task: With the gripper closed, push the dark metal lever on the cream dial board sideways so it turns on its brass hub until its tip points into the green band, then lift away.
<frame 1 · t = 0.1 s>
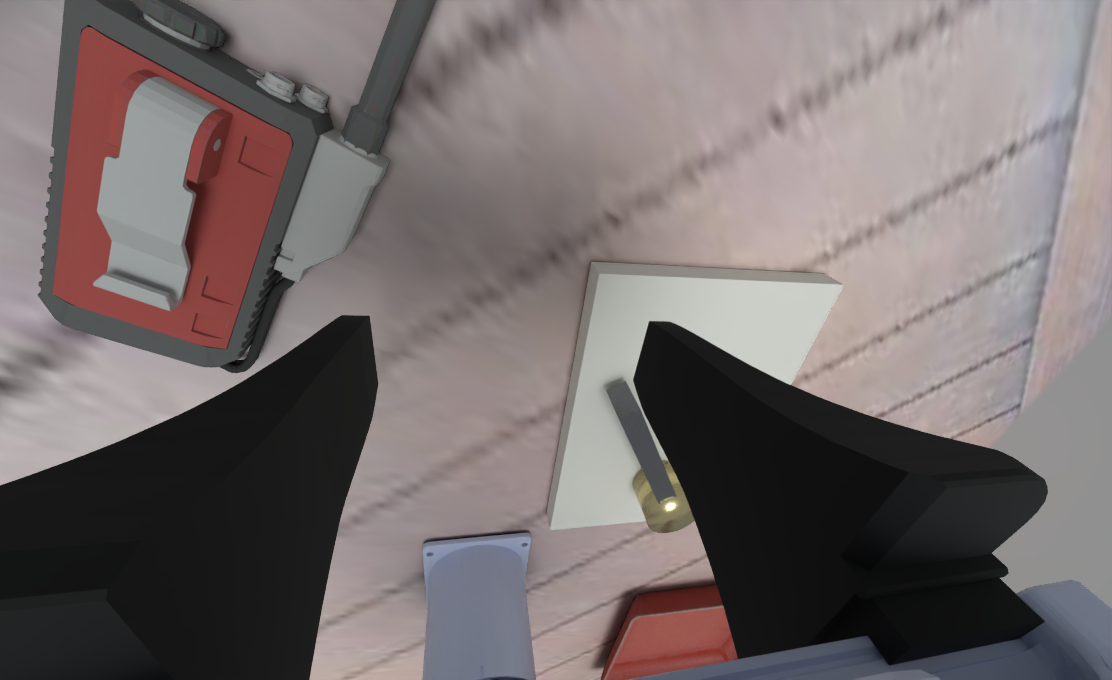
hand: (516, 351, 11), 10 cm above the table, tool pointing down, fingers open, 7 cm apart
dial lever: (650, 462, 25), point 3 cm above the table, hinge at 30.0°
plant saucer: (679, 615, 47), on the table
dial board: (666, 408, 27), on the table
walkie-talkie: (261, 141, 16), on the table
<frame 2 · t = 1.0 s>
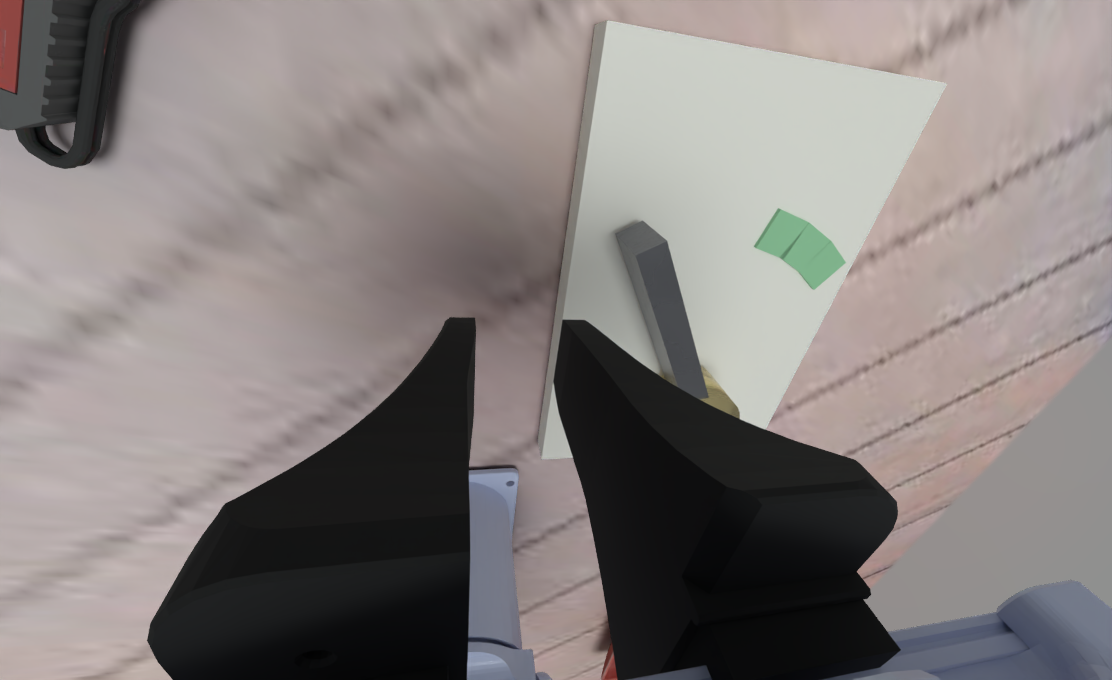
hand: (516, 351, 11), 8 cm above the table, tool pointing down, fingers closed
dial lever: (673, 350, 19), point 3 cm above the table, hinge at 30.0°
plant saucer: (695, 588, 41), on the table
dial board: (692, 292, 21), on the table
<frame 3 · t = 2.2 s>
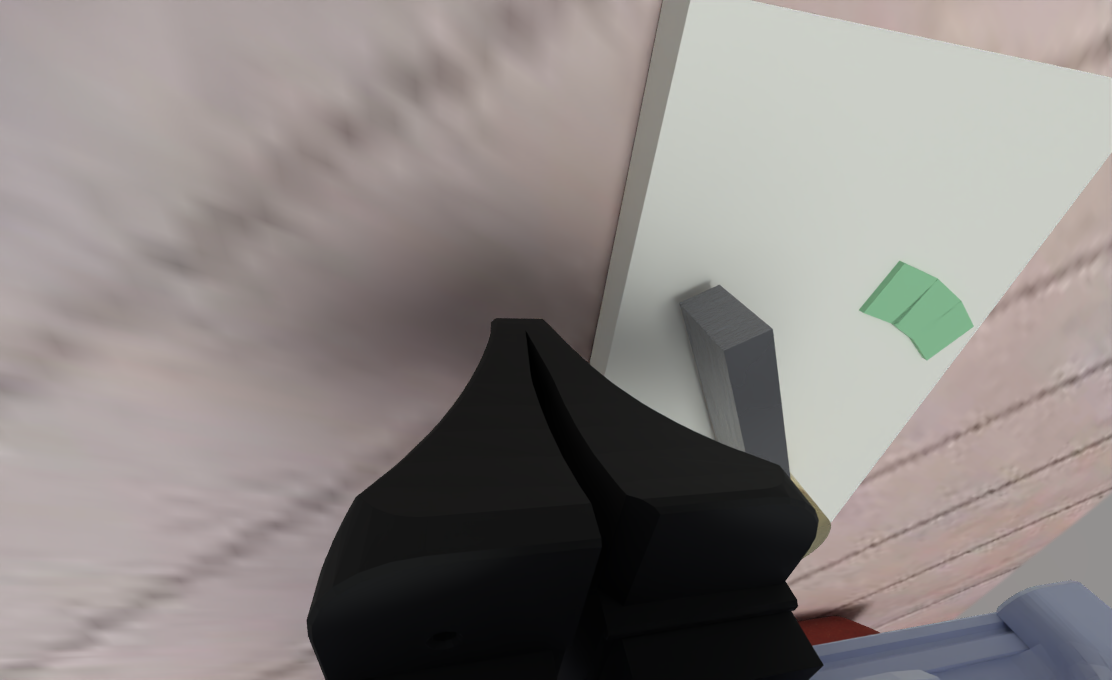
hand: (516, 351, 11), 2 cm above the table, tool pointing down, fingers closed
dial lever: (748, 450, 14), point 3 cm above the table, hinge at 30.0°
plant saucer: (727, 660, 36), on the table
dial board: (762, 360, 16), on the table
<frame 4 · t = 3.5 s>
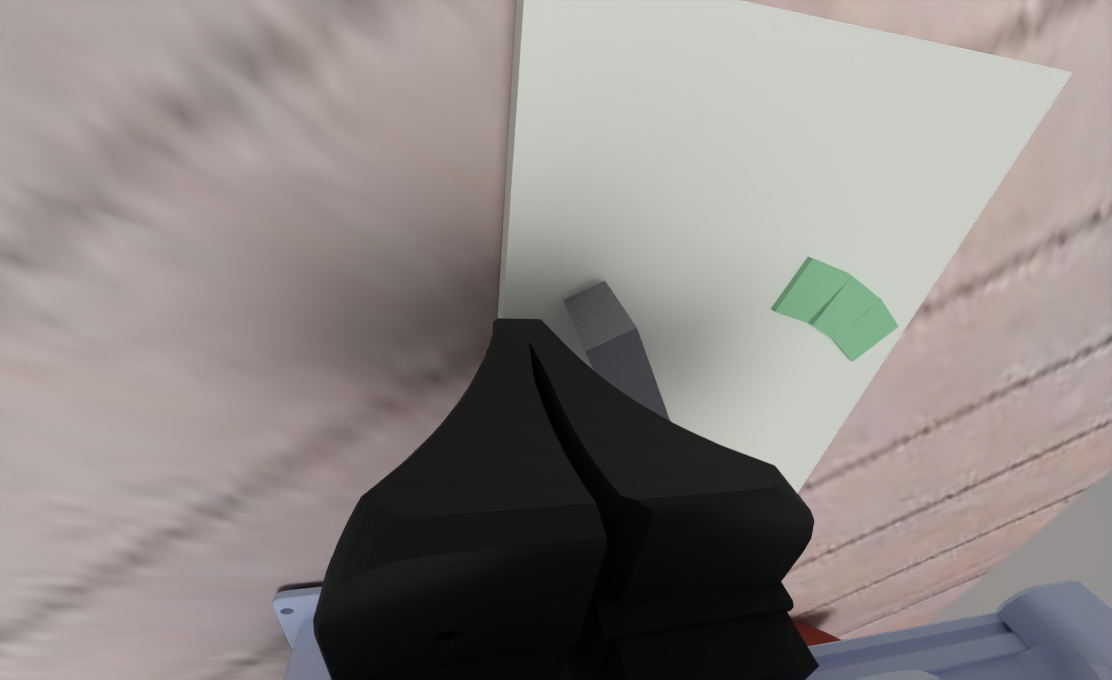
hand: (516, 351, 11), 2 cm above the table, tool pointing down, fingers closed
dial lever: (656, 456, 13), point 3 cm above the table, hinge at 30.0°, touching gripper
plant saucer: (691, 667, 35), on the table
dial board: (684, 361, 15), on the table
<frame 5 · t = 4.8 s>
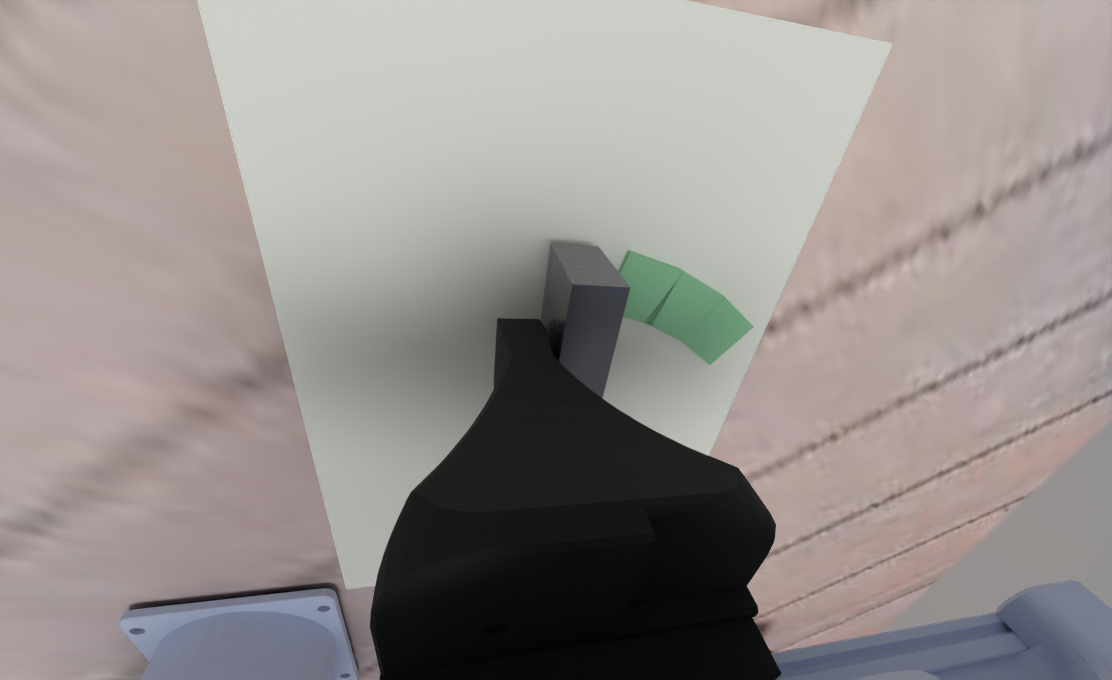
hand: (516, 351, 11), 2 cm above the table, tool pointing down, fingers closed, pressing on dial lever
dial lever: (551, 451, 12), point 3 cm above the table, hinge at -0.8°, touching gripper
dial board: (537, 364, 14), on the table
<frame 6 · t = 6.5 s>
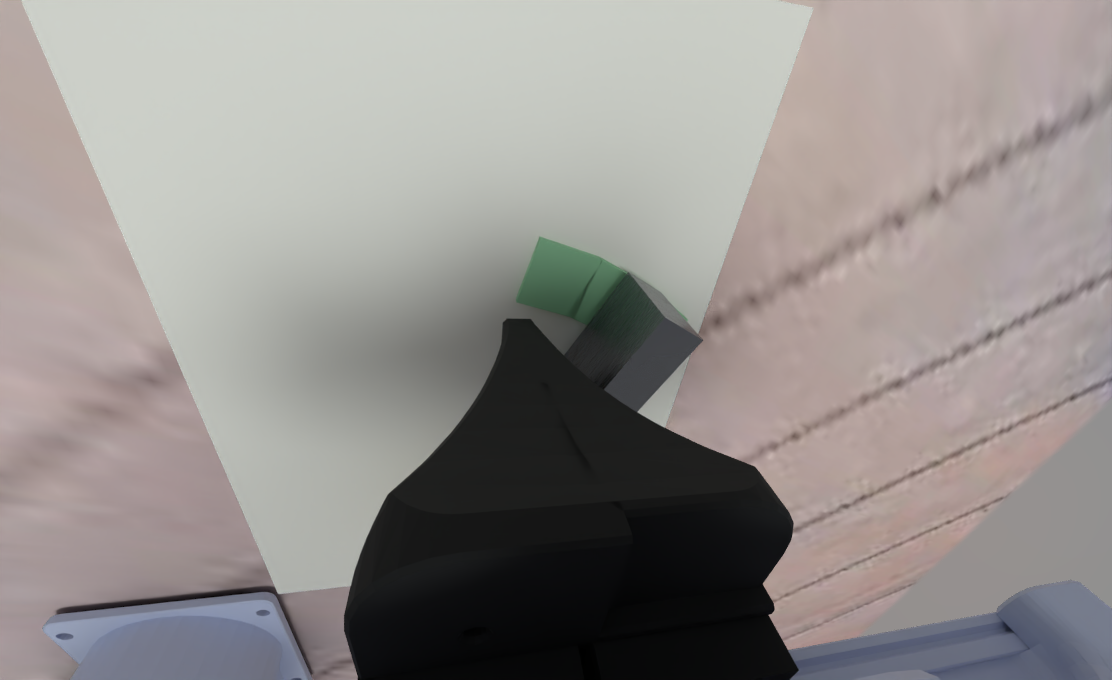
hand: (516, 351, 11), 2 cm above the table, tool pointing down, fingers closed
dial lever: (530, 460, 12), point 3 cm above the table, hinge at -27.2°, touching gripper
dial board: (465, 360, 14), on the table
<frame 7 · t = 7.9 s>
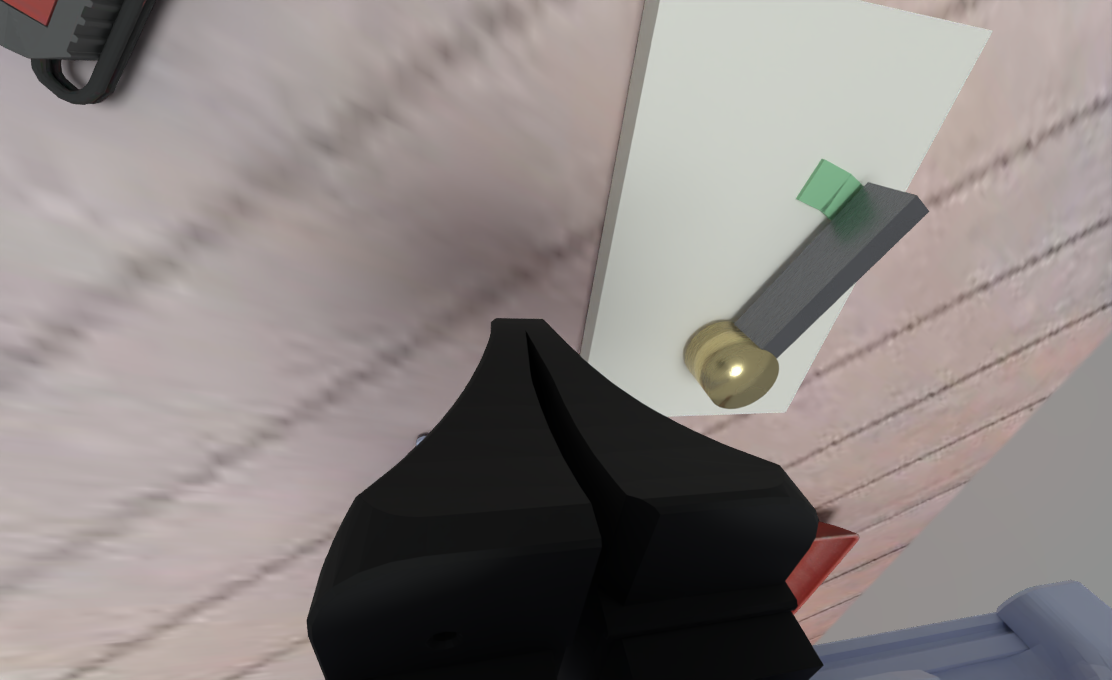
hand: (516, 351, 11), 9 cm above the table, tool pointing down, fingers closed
dial lever: (790, 302, 20), point 3 cm above the table, hinge at -27.9°
plant saucer: (715, 564, 41), on the table
dial board: (730, 249, 21), on the table
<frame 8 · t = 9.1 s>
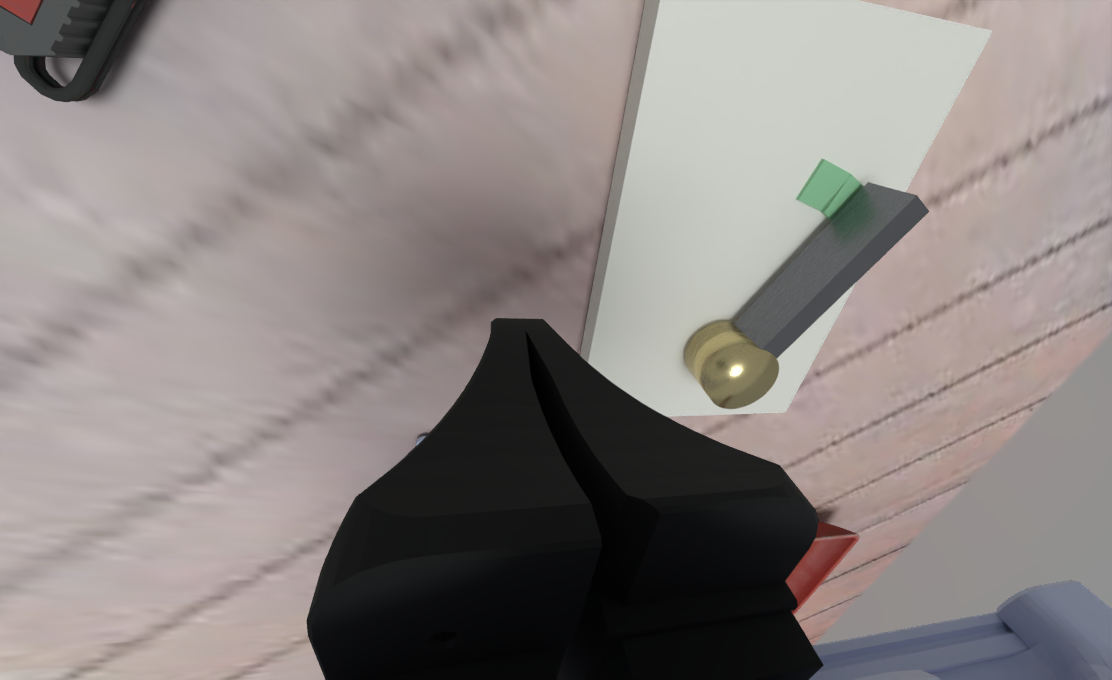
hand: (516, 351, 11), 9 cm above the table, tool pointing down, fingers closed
dial lever: (790, 303, 20), point 3 cm above the table, hinge at -27.9°
plant saucer: (715, 564, 41), on the table
dial board: (730, 250, 21), on the table
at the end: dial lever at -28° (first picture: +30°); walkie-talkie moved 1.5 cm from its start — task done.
